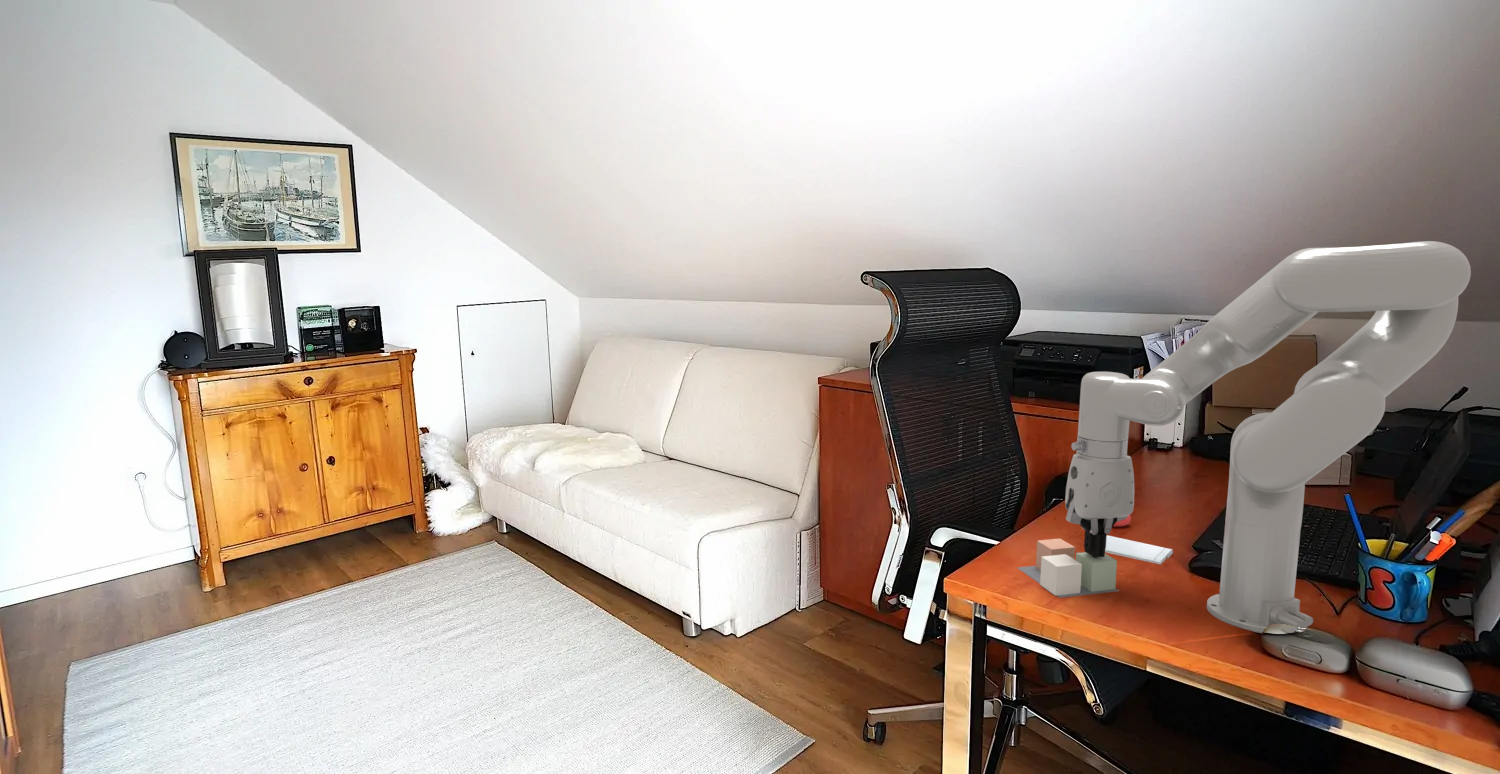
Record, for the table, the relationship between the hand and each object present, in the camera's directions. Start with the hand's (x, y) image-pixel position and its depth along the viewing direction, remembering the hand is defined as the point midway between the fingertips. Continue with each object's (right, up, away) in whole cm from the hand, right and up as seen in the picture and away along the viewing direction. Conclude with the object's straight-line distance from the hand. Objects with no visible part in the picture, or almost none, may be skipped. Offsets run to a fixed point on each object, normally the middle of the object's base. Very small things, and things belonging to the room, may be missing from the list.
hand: (1094, 554), depth 132 cm
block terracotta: (-4, -4, +7) cm, 9 cm away
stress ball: (+16, -1, +32) cm, 36 cm away
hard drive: (+14, -4, +16) cm, 22 cm away
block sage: (0, -5, +1) cm, 5 cm away
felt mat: (-3, -5, +4) cm, 7 cm away
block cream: (-6, -6, -1) cm, 8 cm away
